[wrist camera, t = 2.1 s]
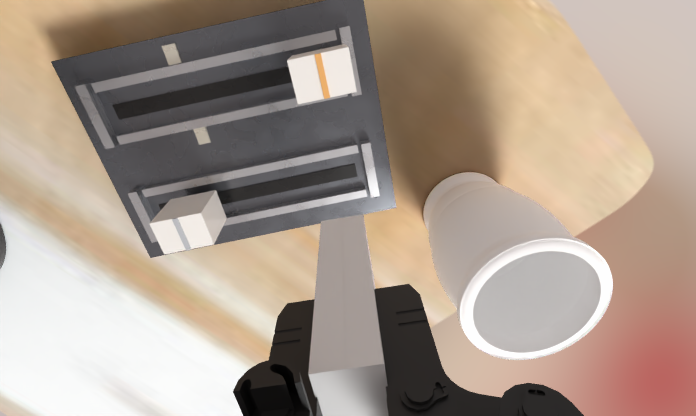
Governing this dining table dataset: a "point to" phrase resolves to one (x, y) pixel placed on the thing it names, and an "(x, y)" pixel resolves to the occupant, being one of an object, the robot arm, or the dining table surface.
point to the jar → (513, 269)
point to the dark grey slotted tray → (237, 122)
